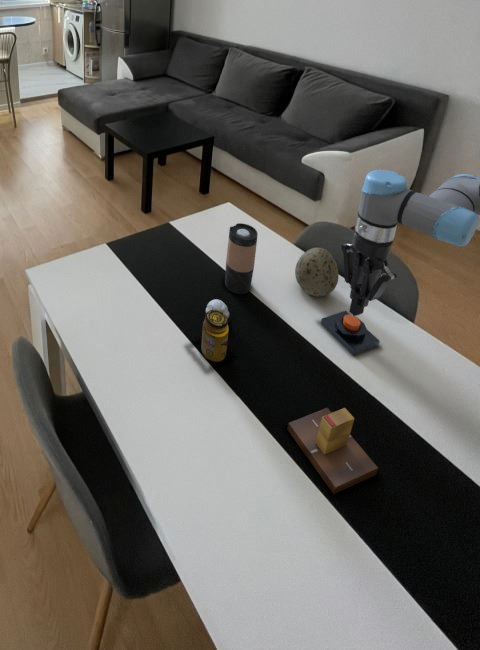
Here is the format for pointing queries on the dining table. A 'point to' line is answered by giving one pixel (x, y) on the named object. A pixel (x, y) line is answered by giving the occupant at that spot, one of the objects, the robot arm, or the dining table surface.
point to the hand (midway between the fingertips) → (356, 312)
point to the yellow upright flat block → (334, 430)
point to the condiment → (215, 335)
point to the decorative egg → (317, 272)
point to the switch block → (349, 334)
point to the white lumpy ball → (217, 307)
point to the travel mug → (240, 258)
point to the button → (351, 322)
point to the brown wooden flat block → (332, 455)
